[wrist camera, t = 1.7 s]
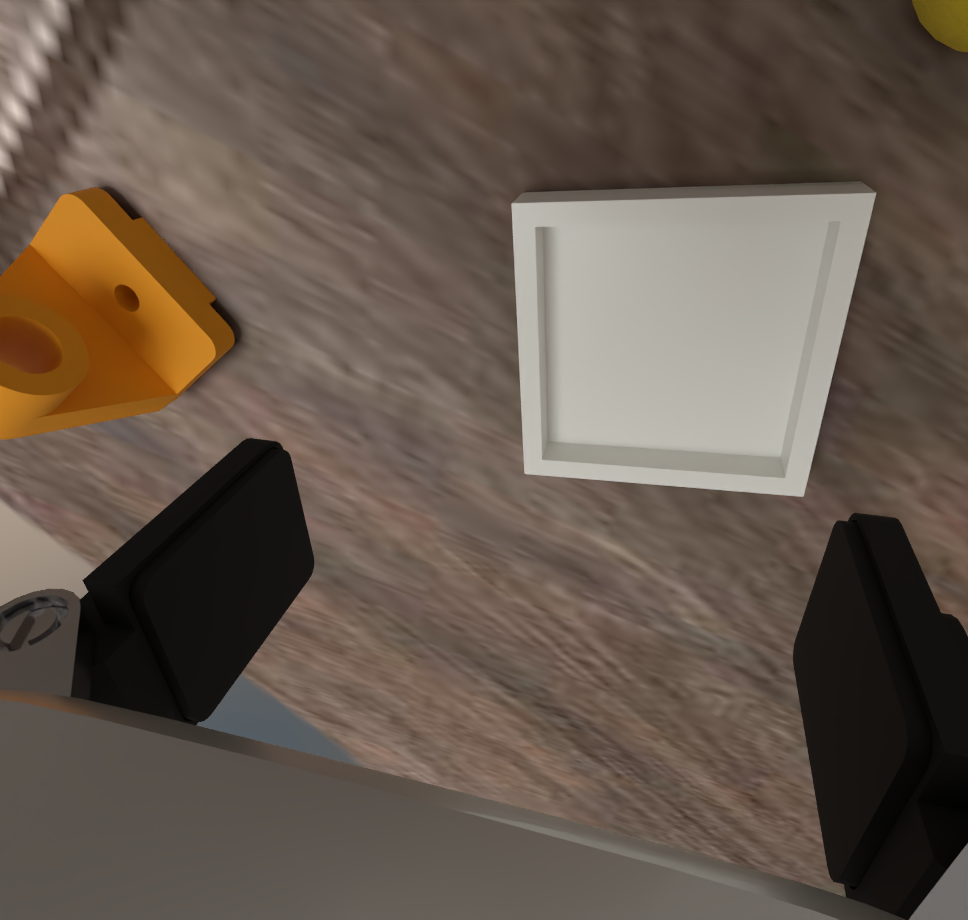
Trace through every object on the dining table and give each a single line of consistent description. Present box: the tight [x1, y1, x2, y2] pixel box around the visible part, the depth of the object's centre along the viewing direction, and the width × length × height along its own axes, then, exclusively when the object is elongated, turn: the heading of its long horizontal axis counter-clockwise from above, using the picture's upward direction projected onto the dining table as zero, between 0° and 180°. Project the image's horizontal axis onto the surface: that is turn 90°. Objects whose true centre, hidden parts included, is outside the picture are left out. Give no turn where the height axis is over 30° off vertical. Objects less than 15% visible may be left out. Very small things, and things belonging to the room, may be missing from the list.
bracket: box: [0, 187, 235, 439], centre depth 33 cm, size 11×7×12 cm, turn 39°
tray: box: [512, 181, 876, 497], centre depth 30 cm, size 14×14×2 cm
